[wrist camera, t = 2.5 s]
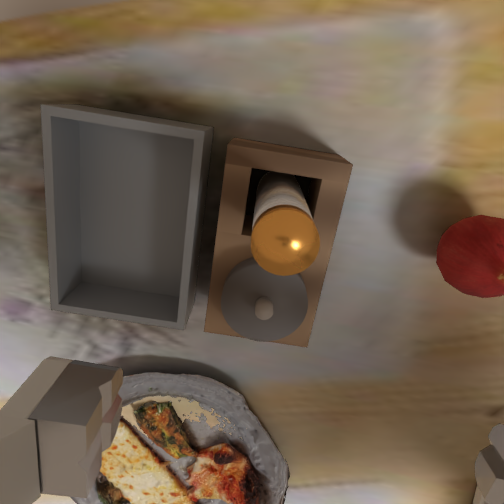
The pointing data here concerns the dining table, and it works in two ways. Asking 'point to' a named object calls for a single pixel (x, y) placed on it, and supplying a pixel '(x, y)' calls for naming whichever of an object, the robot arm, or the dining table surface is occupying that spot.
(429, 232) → the dining table surface
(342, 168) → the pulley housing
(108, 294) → the parts tray
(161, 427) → the food plate
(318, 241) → the pin
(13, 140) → the dining table surface
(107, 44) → the dining table surface
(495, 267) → the red round piece
